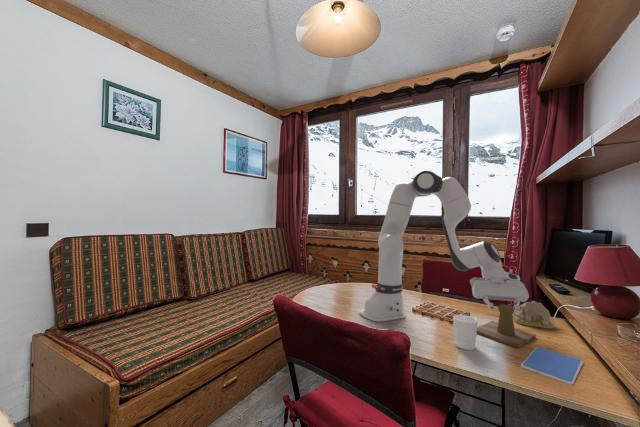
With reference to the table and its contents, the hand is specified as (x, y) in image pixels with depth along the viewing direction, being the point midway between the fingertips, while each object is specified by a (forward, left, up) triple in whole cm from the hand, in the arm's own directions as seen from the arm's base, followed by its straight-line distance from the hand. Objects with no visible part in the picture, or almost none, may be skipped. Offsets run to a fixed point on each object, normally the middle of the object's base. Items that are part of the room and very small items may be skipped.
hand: (504, 308), depth 112 cm
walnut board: (-1, 0, -10) cm, 10 cm away
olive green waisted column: (-1, -1, -9) cm, 9 cm away
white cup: (-23, +3, -10) cm, 25 cm away
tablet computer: (-11, -19, -11) cm, 24 cm away
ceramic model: (+23, -1, -11) cm, 26 cm away
